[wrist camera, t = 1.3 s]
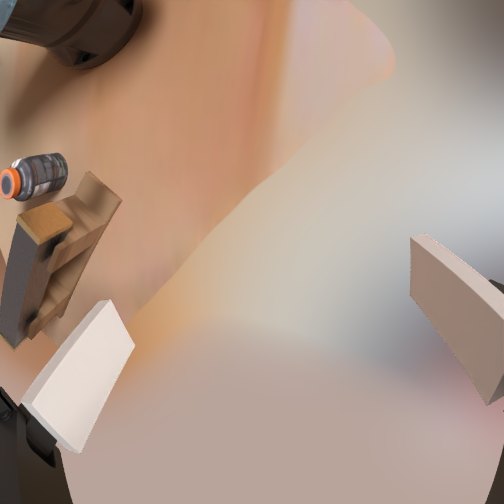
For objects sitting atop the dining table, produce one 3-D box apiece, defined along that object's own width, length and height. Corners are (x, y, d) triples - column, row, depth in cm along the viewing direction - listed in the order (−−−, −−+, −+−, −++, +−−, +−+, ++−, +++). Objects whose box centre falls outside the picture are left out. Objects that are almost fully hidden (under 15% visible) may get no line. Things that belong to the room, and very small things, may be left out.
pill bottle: (45, 150, 33) (-5, 159, 23) (71, 153, 34) (19, 162, 23) (42, 187, 36) (-6, 203, 25) (67, 192, 36) (17, 210, 25)
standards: (38, 292, 43) (2, 324, 32) (89, 171, 35) (34, 185, 23) (62, 315, 44) (29, 351, 33) (122, 200, 36) (72, 224, 25)
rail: (33, 330, 35) (14, 351, 29) (17, 314, 34) (-3, 333, 29) (73, 222, 28) (40, 239, 22) (51, 201, 27) (17, 214, 21)
